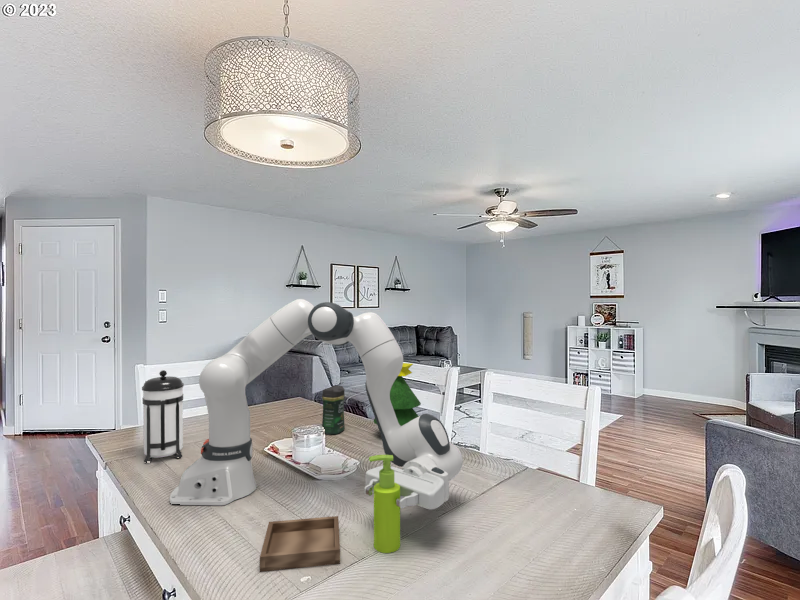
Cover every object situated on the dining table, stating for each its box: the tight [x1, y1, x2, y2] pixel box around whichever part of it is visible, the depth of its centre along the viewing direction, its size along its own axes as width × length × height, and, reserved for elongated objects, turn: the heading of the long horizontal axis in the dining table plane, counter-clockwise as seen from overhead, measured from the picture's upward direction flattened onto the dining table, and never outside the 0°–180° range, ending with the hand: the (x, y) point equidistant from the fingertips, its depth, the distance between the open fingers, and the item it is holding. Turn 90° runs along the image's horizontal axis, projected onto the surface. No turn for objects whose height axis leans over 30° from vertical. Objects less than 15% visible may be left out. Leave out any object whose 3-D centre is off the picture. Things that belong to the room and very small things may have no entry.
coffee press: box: [141, 369, 185, 464], centre depth 151 cm, size 17×16×30 cm
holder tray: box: [259, 515, 341, 573], centre depth 96 cm, size 16×14×3 cm
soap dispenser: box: [368, 454, 401, 554], centre depth 97 cm, size 6×7×20 cm
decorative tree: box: [373, 362, 422, 426], centre depth 174 cm, size 19×19×30 cm
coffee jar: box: [321, 385, 346, 436], centre depth 179 cm, size 10×8×19 cm
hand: (382, 497), depth 97 cm, fingers open, 8 cm apart
